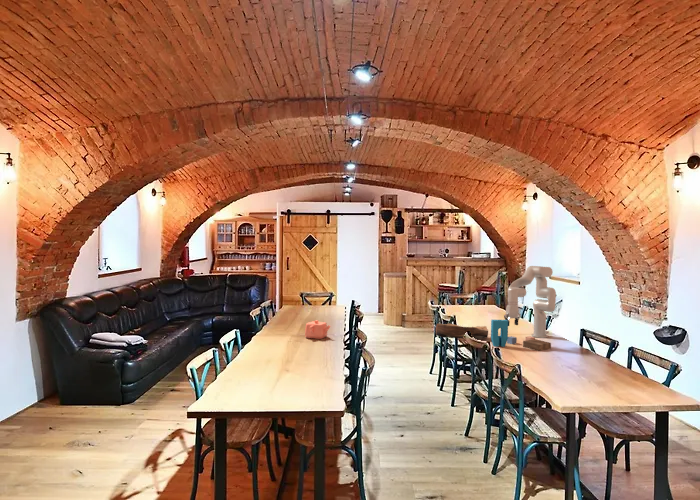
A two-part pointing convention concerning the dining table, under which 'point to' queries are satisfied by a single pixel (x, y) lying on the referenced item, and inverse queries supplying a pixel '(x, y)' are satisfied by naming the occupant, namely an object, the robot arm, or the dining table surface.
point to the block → (503, 336)
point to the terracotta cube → (529, 338)
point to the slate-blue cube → (512, 340)
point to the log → (460, 331)
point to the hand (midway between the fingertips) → (511, 325)
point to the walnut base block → (536, 345)
